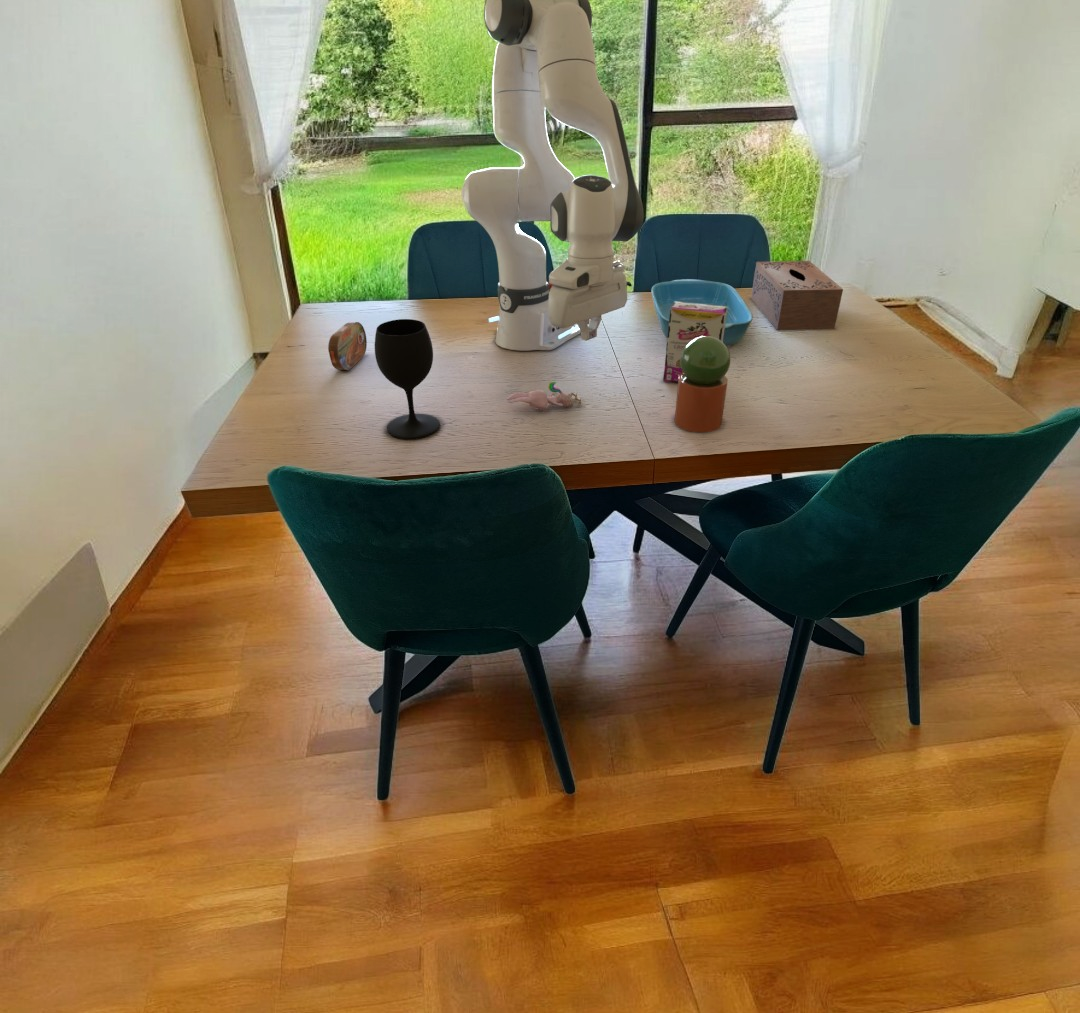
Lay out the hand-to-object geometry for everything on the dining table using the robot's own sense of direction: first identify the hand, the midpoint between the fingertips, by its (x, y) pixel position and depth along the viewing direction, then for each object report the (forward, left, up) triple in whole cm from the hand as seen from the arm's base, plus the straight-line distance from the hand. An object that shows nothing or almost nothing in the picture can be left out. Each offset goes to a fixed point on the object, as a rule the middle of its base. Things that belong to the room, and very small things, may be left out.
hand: (588, 338), depth 146 cm
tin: (+26, -50, -12) cm, 58 cm away
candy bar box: (-18, +14, -12) cm, 25 cm away
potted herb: (-3, +26, -11) cm, 28 cm away
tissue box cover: (-73, +8, -12) cm, 74 cm away
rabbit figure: (+13, 0, -12) cm, 17 cm away
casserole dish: (-47, -4, -12) cm, 49 cm away
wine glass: (+36, -13, -12) cm, 40 cm away
